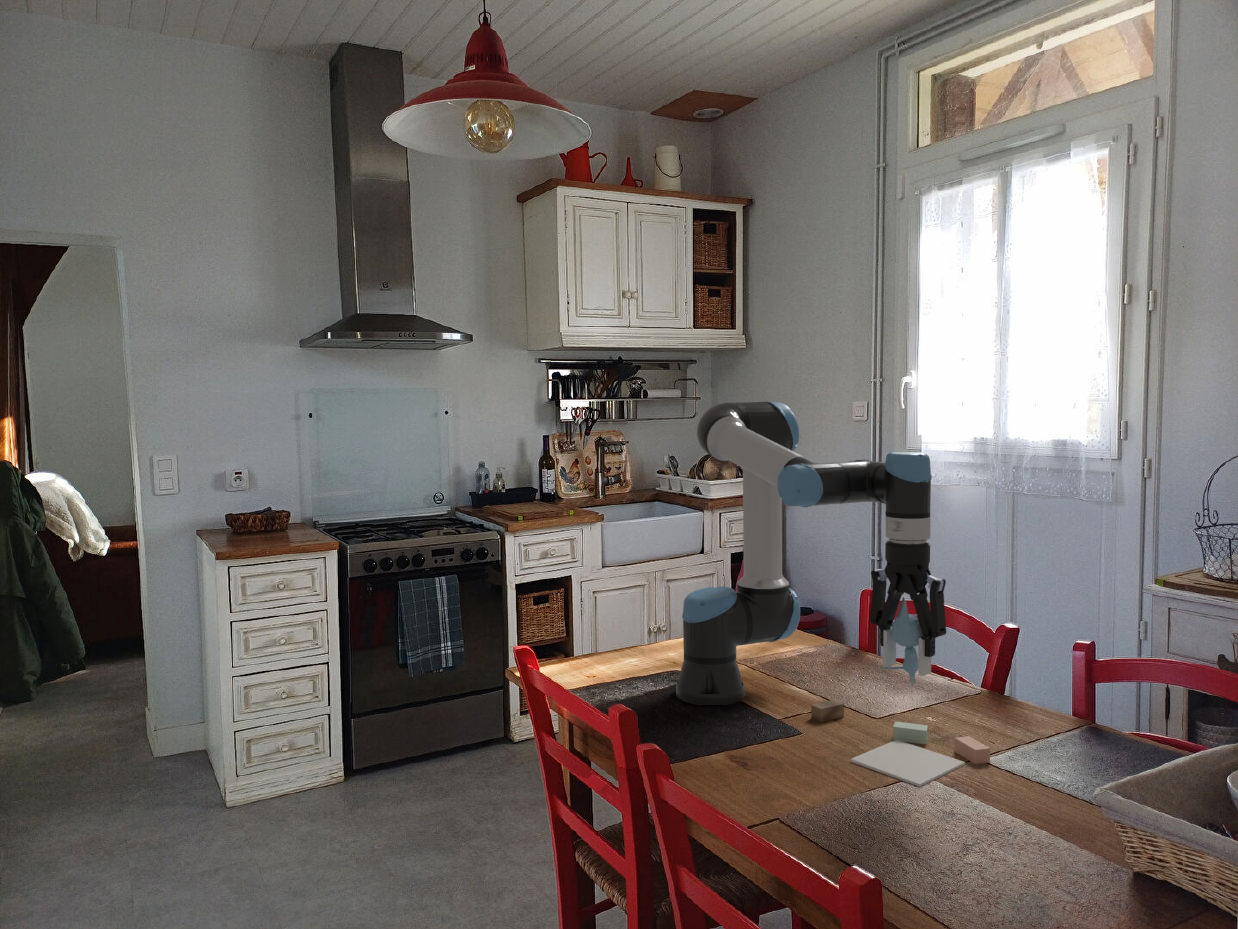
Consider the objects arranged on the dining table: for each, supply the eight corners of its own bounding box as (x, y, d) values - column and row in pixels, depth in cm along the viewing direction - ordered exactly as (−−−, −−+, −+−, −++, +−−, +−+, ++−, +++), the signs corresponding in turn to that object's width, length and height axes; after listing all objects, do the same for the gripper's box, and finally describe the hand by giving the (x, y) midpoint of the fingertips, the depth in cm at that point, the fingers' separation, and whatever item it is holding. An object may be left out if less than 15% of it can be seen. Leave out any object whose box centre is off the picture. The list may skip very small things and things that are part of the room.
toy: (910, 689, 155) (914, 605, 154) (880, 680, 160) (883, 598, 159) (934, 684, 158) (938, 602, 158) (904, 675, 164) (908, 595, 163)
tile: (850, 762, 161) (850, 759, 161) (896, 742, 170) (896, 739, 170) (919, 787, 150) (919, 784, 150) (965, 765, 159) (965, 762, 159)
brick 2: (893, 742, 171) (893, 726, 171) (895, 736, 174) (895, 721, 173) (926, 746, 168) (926, 731, 168) (927, 741, 171) (927, 725, 171)
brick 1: (821, 723, 181) (821, 709, 181) (811, 719, 184) (811, 704, 183) (843, 718, 184) (843, 703, 184) (833, 713, 187) (833, 699, 186)
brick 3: (954, 754, 165) (954, 738, 165) (968, 752, 166) (968, 736, 165) (975, 766, 159) (975, 750, 159) (989, 764, 160) (990, 748, 160)
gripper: (848, 536, 163) (848, 661, 164) (945, 549, 148) (944, 687, 149) (873, 532, 167) (873, 654, 169) (970, 544, 152) (969, 677, 154)
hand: (906, 669), depth 159 cm, fingers closed on toy, 6 cm apart
